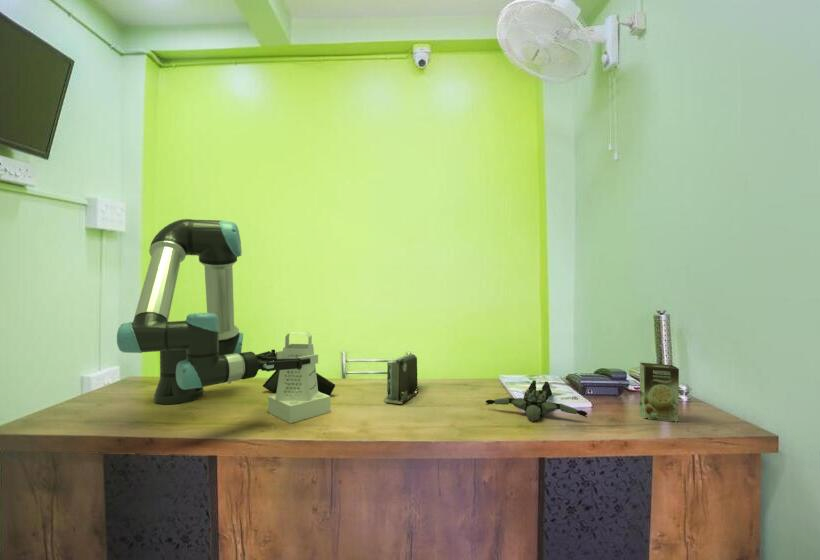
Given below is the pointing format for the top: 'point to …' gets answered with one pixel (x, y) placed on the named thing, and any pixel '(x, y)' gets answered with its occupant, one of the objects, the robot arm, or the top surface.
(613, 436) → the top surface
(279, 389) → the grater
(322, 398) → the pedestal
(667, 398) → the coffee box
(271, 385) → the handgun
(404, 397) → the radio
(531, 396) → the toy
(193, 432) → the top surface
